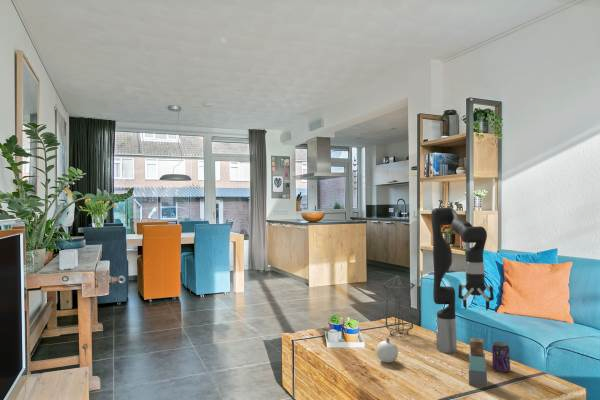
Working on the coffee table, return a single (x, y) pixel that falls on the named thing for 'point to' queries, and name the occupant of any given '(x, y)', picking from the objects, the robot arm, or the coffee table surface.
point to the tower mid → (477, 363)
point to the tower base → (478, 378)
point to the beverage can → (501, 357)
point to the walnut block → (476, 347)
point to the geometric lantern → (399, 303)
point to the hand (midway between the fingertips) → (476, 308)
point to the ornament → (387, 351)
